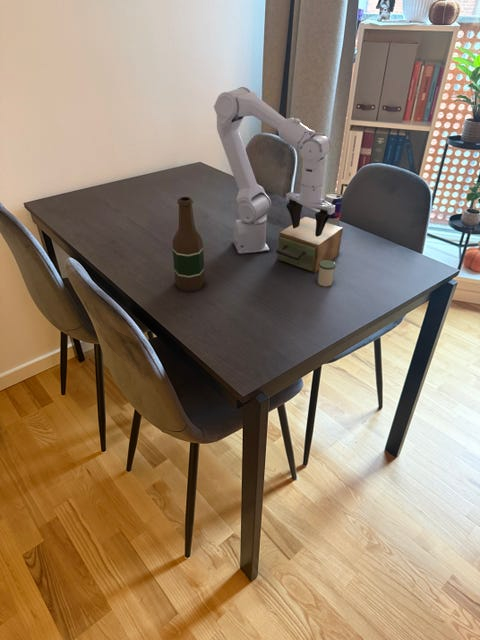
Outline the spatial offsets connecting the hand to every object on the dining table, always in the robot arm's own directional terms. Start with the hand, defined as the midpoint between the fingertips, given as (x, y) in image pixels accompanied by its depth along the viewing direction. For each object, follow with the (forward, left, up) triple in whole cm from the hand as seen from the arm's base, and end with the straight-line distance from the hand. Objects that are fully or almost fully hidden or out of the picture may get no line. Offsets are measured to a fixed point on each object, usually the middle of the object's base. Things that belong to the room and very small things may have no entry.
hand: (307, 231), depth 134 cm
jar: (+2, -13, -10) cm, 16 cm away
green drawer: (-1, 0, -9) cm, 9 cm away
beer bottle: (-34, -6, -10) cm, 36 cm away
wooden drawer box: (+2, +2, -10) cm, 10 cm away
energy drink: (+15, +18, -10) cm, 25 cm away
